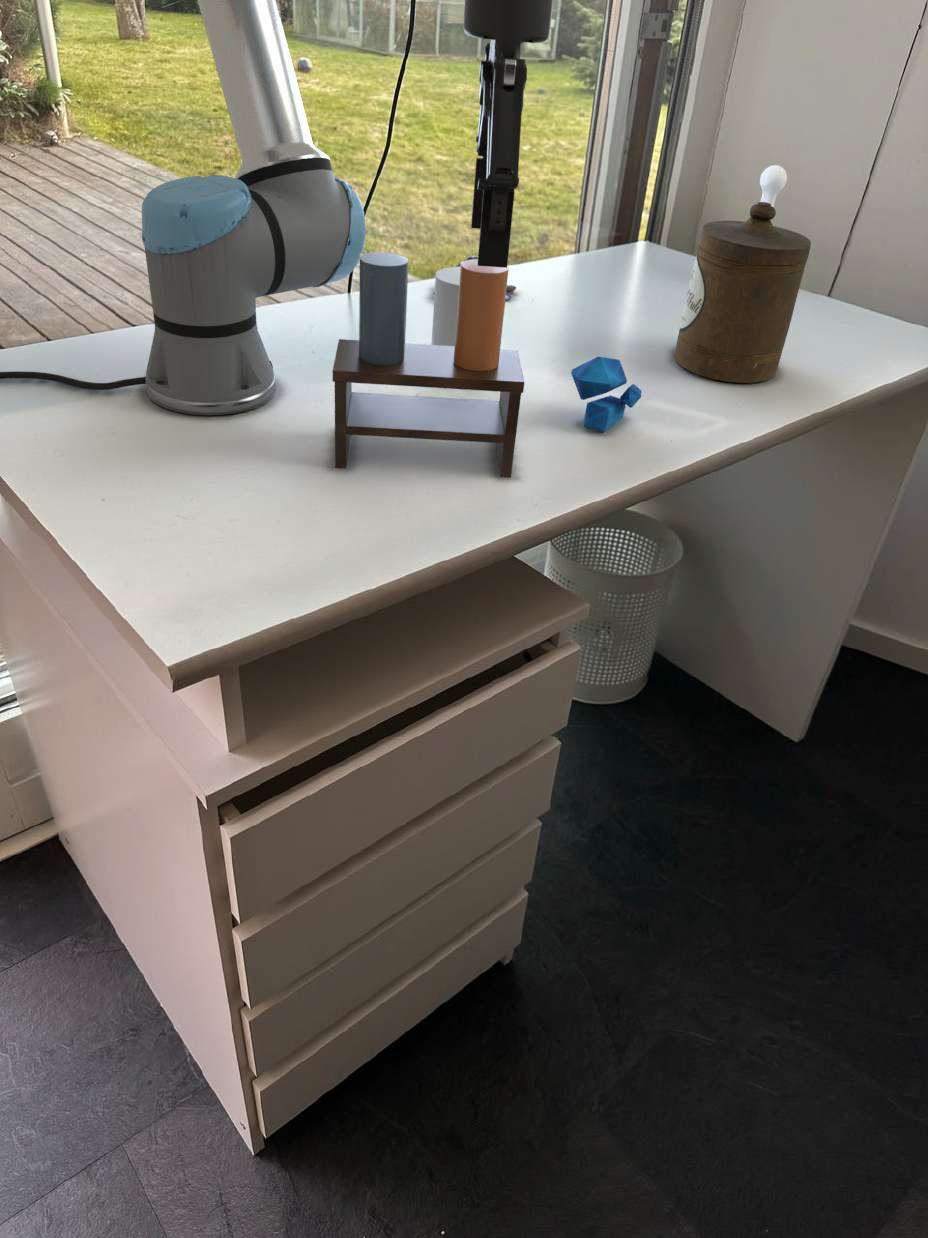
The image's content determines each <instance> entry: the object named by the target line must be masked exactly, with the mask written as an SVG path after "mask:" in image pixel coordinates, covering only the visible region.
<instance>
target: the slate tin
mask: <svg viewBox="0 0 928 1238" xmlns="http://www.w3.org/2000/svg"><path fill="white" fill-rule="evenodd" d="M408 280H409V259H408V258H407V257H406V256H403V255H401V254H398V253H394V252H393V253H392V252H386V251H385V252H384V251H382V252H381V251H374V252H367V253H364V254H361V255H360V260H359V287H358V288H359V291H358V293H359V294H358V295H359V296H358V297H359V299H358V301H359V302H358V303H359V305H358V306H359V307H358V316H359V317H358V340H359V358H360V359H361V360H363V361H364V362H367V363H370V364H374V365H394V364H398V363H400V362H402V361H403V360H404V357H405V343H406V330H407V329H406V328H407V307H408V306H407V305H408Z"/></svg>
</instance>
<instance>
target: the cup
mask: <svg viewBox="0 0 928 1238" xmlns="http://www.w3.org/2000/svg"><path fill="white" fill-rule="evenodd" d="M434 275H435V278H434V291H433V292H434V295H433V298H434V299H433V310H432V311H433V313H432V329H431V344H430V345H440V346H455V335H456V321H457V308H458V294H459V281H460V267H456V266H450V267H444V268H440V269H439V270H437V271H436V272H435V274H434Z"/></svg>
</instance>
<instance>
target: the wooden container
mask: <svg viewBox="0 0 928 1238" xmlns="http://www.w3.org/2000/svg"><path fill="white" fill-rule="evenodd" d="M776 214H777V211H776V209H775V206H774V207H772V206H771V204H770V203H767V202H760V201H758V202H757V203H755V204H753V205H751V206H750V209H749V218H748V219H747V220H746V221H743V220H717V221H716V220H715V221H710V222H706V223H705V224H703V225H702V228H701V231H700V236H699V240H698V243H697V244H698V245H697V250H696V251H697V252H696V256H695V260H694V264H693V268H692V272H691V277H690V282H689V285H688V289H687V292H686V297H685V302H684V306H683V310H682V316H681V320H680V325H679V329H678V336H677V340H676V345H675V349H674V356H673V357H674V359H675V361H676V363H677V364H678V365H680V366H681V367H682V368H684V369H686V370H687V371H689V372H691V373H693V374H695V375H698V376H701V377H703V378H708V379H711V380H715V381H720V382H726V383H737V384H753V383H755V384H756V383H760V382H761V383H762V382H765V381H768V380H770V379H772V378H774V376H775V375H776V374H777V371H778V368H779V364H780V361H781V359H782V353H783V350H784V346H785V343H786V341H787V336H788V333H789V330H790V325H791V322H792V320H793V319H792V318H793V315H794V310H795V305H796V302H797V298H798V294H799V291H800V287H801V284H802V279H803V275H804V271H805V267H806V265H807V261H808V258H809V256H810V252H811V246H812V241H811V239H809V238H808V237H806V236H805V235H803V234H801V233H800V232H799V233H798V232H796V231H793V230H790V229H786V228H784V227H780V226H776V225H774V224H773V223H772V220H773V219H774V218H775V217H776Z"/></svg>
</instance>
